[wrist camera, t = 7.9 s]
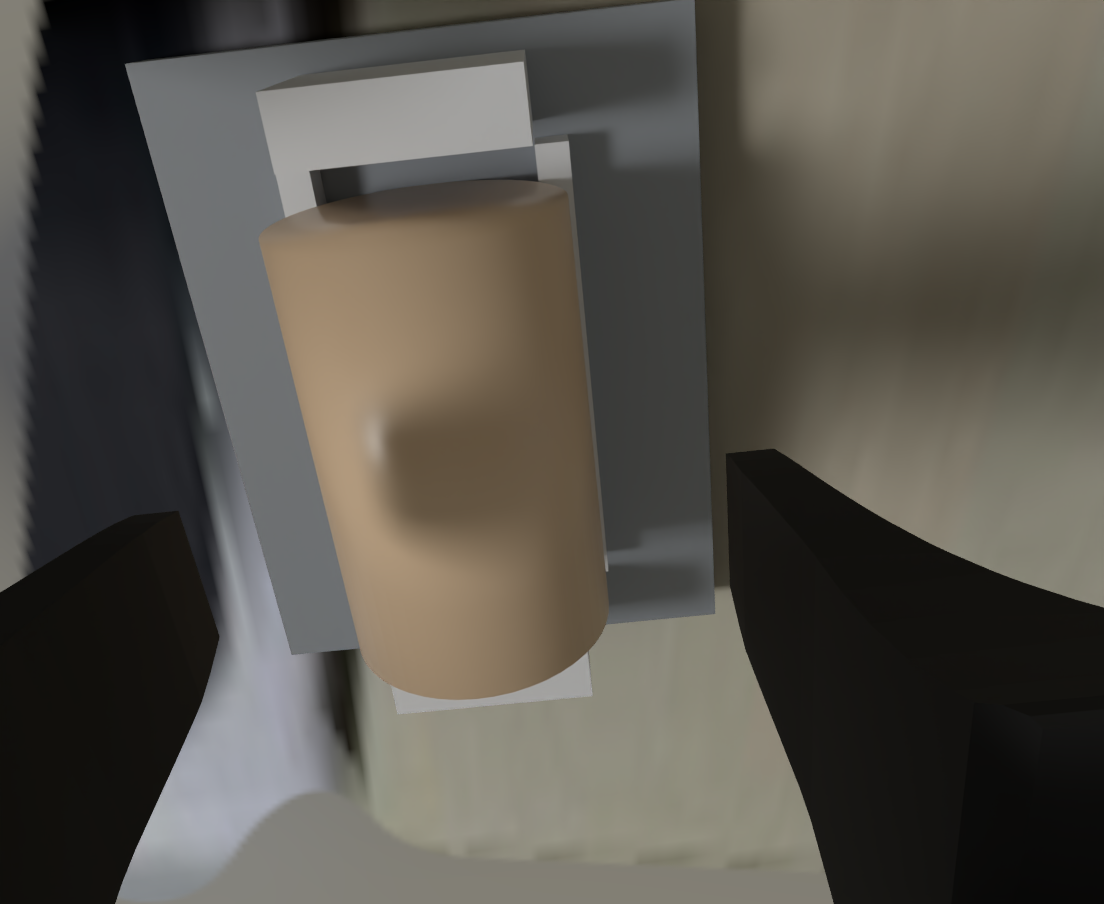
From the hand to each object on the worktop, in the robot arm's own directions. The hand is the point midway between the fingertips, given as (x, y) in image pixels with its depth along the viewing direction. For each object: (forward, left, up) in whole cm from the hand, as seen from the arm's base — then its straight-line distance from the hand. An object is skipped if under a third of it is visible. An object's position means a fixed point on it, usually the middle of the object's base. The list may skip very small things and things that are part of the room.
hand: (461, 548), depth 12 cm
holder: (+1, 0, -8) cm, 8 cm away
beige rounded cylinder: (+1, +1, -5) cm, 5 cm away
